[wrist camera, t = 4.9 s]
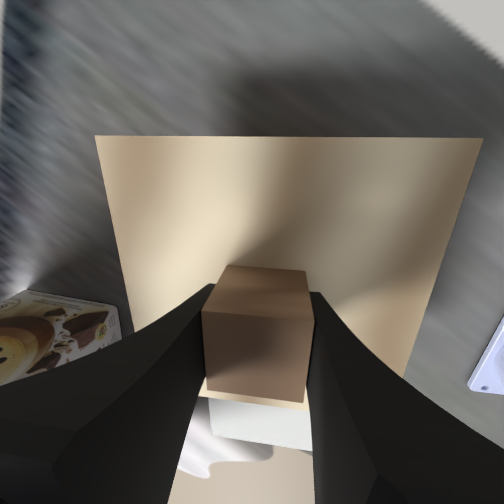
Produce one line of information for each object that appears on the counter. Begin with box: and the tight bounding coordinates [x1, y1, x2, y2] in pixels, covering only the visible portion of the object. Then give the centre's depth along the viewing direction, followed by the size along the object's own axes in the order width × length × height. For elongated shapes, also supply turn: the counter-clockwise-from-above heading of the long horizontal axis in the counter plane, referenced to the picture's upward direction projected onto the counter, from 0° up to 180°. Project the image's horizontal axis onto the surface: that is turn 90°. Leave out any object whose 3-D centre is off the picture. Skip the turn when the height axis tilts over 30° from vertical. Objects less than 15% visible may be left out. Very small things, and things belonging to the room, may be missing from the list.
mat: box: [208, 397, 312, 451], centre depth 22 cm, size 15×15×1 cm
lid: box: [95, 136, 484, 411], centre depth 10 cm, size 14×14×4 cm
